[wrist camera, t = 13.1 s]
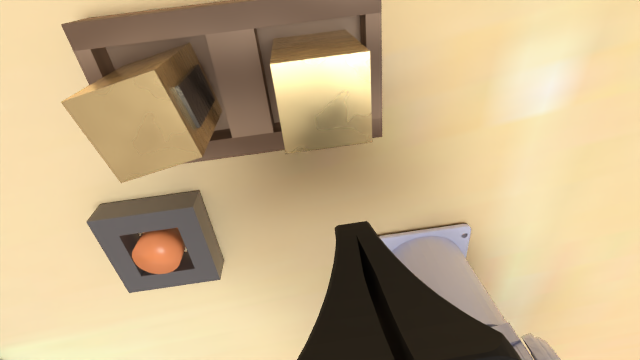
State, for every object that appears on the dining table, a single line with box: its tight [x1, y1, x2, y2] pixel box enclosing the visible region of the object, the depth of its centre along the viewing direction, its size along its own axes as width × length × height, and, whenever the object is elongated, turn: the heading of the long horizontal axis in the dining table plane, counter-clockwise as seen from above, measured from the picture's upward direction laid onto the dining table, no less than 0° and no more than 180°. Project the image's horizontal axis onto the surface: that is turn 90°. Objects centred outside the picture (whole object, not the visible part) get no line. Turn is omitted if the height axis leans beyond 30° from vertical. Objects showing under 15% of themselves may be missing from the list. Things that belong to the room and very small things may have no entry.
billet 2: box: [270, 30, 372, 154], centre depth 17 cm, size 4×4×6 cm
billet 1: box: [61, 43, 222, 183], centre depth 17 cm, size 4×4×6 cm
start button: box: [132, 228, 186, 274], centre depth 25 cm, size 3×3×2 cm
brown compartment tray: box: [61, 0, 382, 164], centre depth 19 cm, size 8×15×2 cm, turn 96°
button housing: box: [87, 191, 224, 293], centre depth 25 cm, size 7×7×2 cm
